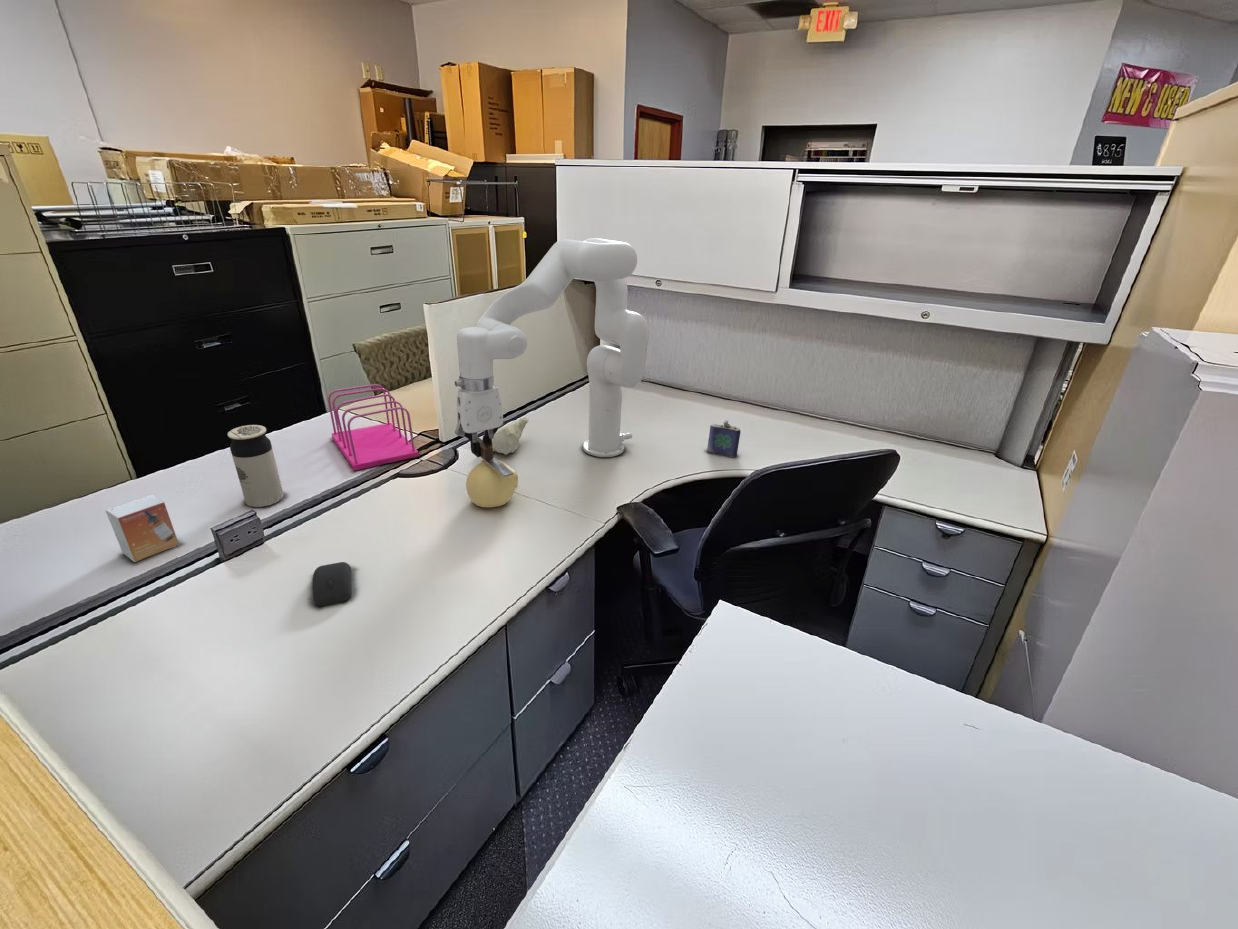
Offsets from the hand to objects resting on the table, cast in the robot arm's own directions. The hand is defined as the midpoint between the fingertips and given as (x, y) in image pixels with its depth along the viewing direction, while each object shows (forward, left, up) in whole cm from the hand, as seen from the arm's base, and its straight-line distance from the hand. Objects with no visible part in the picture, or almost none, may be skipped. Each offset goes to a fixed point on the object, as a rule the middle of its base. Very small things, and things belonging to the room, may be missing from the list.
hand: (482, 453), depth 138 cm
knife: (0, +4, 0) cm, 4 cm away
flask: (-71, +16, -12) cm, 74 cm away
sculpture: (0, +4, -12) cm, 12 cm away
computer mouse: (+40, +17, -12) cm, 45 cm away
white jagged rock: (-18, -22, -12) cm, 30 cm away
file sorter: (+15, -42, -12) cm, 46 cm away
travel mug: (+45, -26, -12) cm, 53 cm away
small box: (+67, -15, -12) cm, 70 cm away
